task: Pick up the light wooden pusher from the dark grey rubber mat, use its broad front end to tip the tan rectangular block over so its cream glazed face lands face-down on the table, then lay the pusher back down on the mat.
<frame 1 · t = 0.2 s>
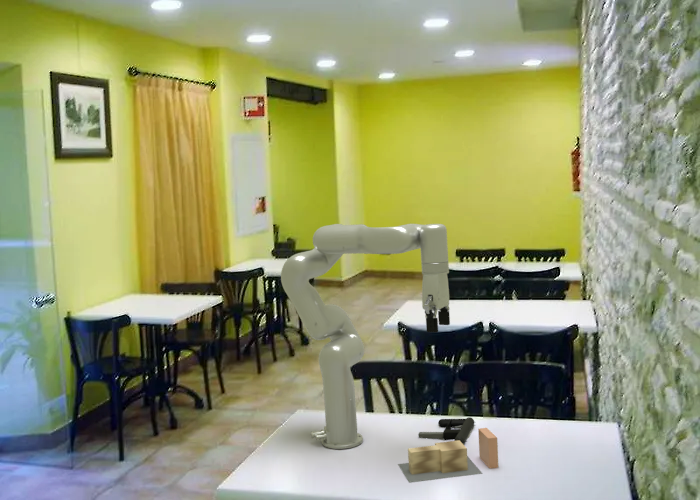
hand: (438, 328, 209), 37 cm above the table, tool pointing down, fingers open, 9 cm apart
door handle: (447, 436, 228), on the table
rest mat: (439, 470, 201), on the table
tan rectangular block: (488, 464, 203), on the table
pusher: (439, 468, 201), point 1 cm above the table, touching rest mat
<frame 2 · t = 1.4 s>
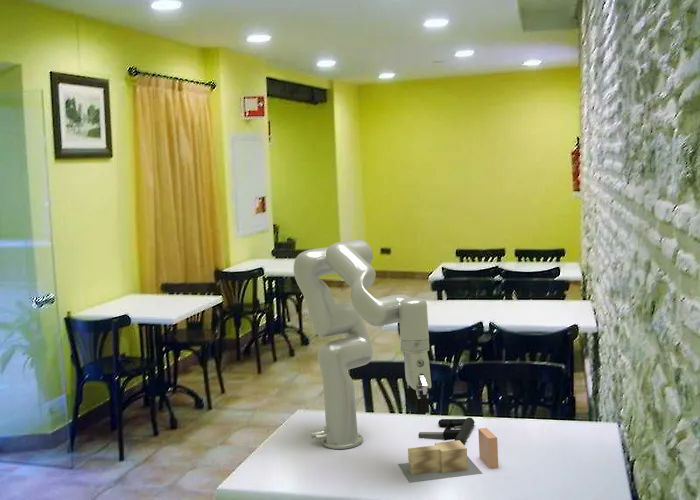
hand: (418, 407, 198), 18 cm above the table, tool pointing down, fingers open, 9 cm apart
nothing on the table moved.
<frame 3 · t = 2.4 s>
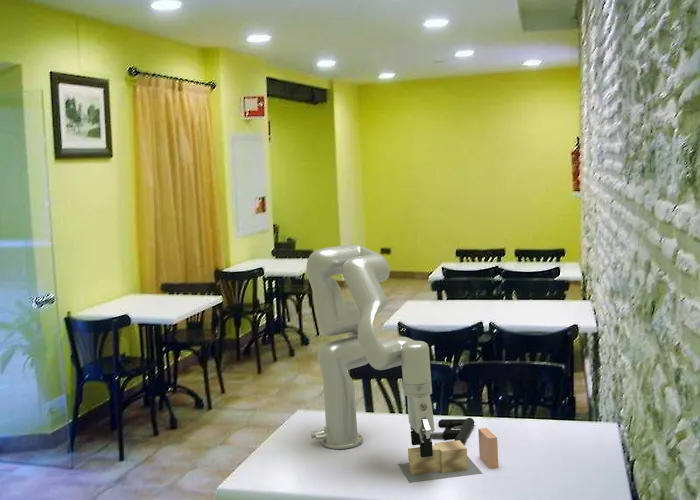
hand: (422, 450, 199), 6 cm above the table, tool pointing down, fingers open, 9 cm apart
nothing on the table moved.
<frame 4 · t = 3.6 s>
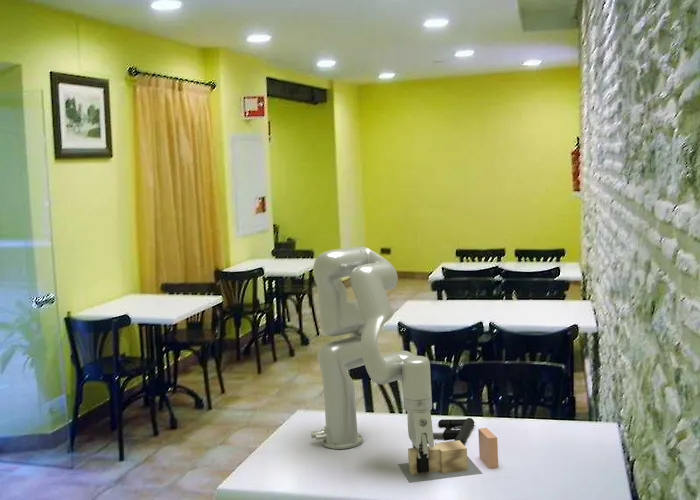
hand: (421, 468, 200), 1 cm above the table, tool pointing down, fingers closed on pusher, 3 cm apart
pusher: (439, 468, 201), point 1 cm above the table, touching gripper, rest mat
everything else where it was.
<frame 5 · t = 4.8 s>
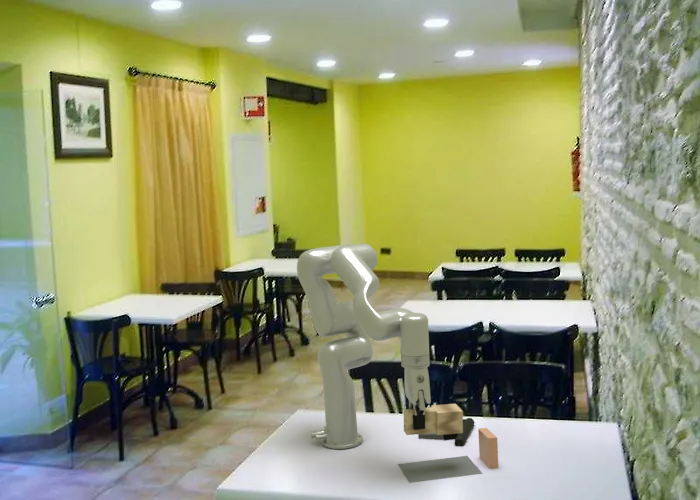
hand: (417, 425, 199), 13 cm above the table, tool pointing down, fingers closed on pusher, 3 cm apart
pusher: (434, 430, 200), point 11 cm above the table, touching gripper
everything else where it was.
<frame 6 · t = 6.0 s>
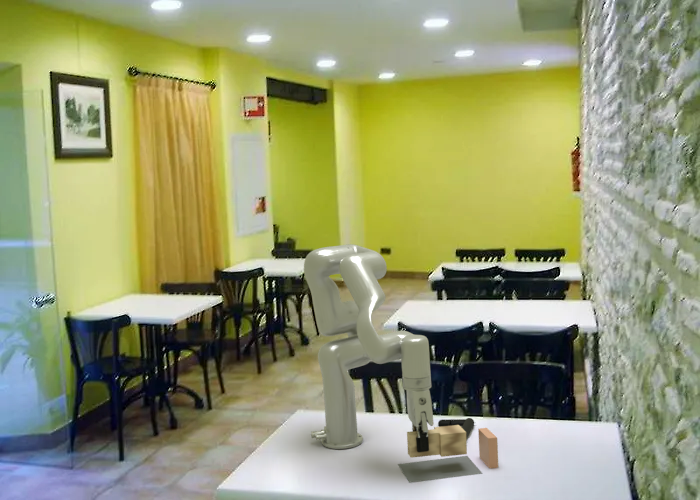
hand: (421, 448, 199), 7 cm above the table, tool pointing down, fingers closed on pusher, 3 cm apart
pusher: (438, 452, 200), point 5 cm above the table, touching gripper
everything else where it was.
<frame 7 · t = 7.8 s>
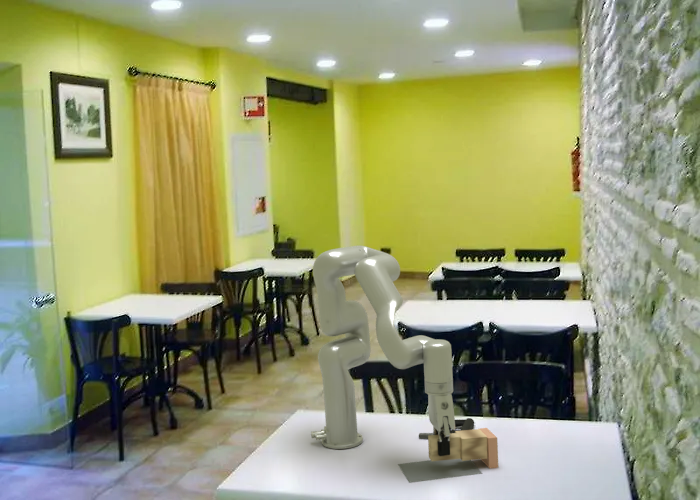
hand: (442, 451, 200), 5 cm above the table, tool pointing down, fingers closed on pusher, 3 cm apart
tan rectangular block: (488, 464, 203), on the table, touching pusher
pusher: (458, 456, 201), point 3 cm above the table, touching gripper, tan rectangular block
everything else where it was.
when the fingers open (3 cm above the table, at t = 11.4 s): pusher stays where it is, resting on rest mat.
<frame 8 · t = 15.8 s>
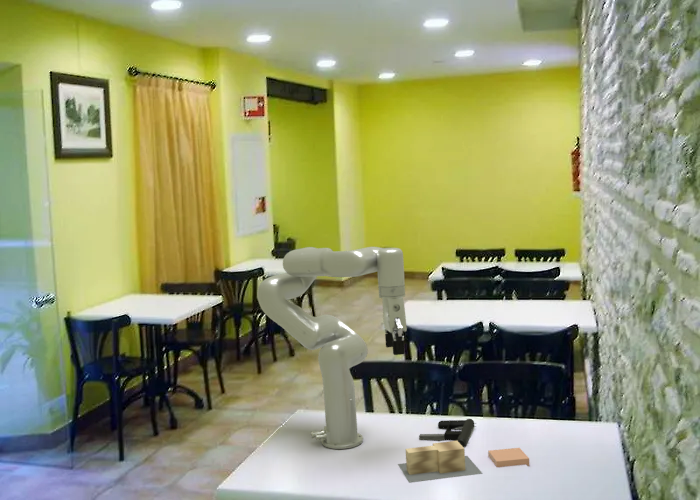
hand: (395, 350, 212), 30 cm above the table, tool pointing down, fingers open, 9 cm apart
tan rectangular block: (492, 460, 203), point 1 cm above the table, tilted 90°
pusher: (436, 468, 200), point 1 cm above the table, touching rest mat
at the end: tan rectangular block tilted 90°; pusher inside the target area (0.7 cm from its centre), point 0.6 cm above the table; the gripper is holding nothing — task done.
